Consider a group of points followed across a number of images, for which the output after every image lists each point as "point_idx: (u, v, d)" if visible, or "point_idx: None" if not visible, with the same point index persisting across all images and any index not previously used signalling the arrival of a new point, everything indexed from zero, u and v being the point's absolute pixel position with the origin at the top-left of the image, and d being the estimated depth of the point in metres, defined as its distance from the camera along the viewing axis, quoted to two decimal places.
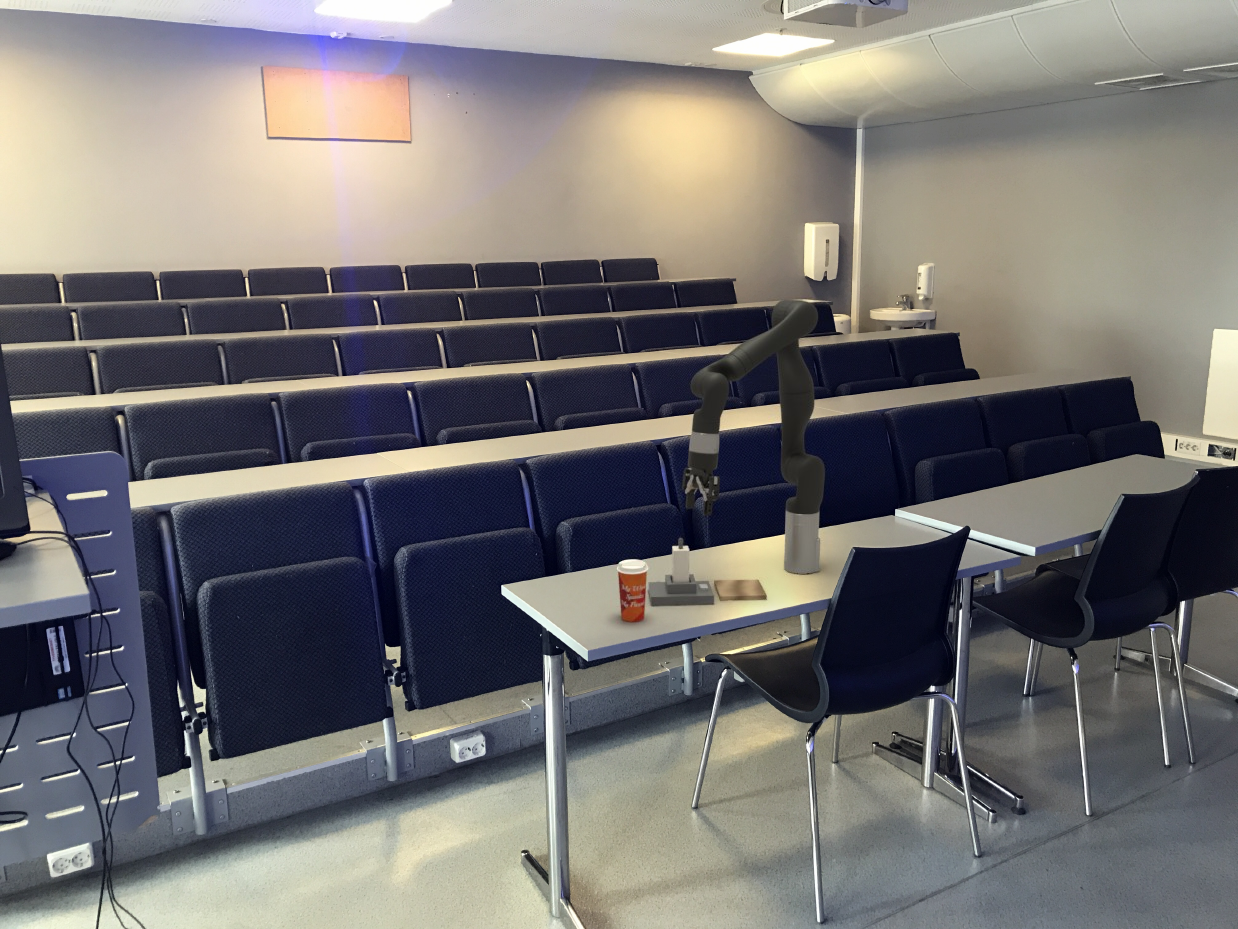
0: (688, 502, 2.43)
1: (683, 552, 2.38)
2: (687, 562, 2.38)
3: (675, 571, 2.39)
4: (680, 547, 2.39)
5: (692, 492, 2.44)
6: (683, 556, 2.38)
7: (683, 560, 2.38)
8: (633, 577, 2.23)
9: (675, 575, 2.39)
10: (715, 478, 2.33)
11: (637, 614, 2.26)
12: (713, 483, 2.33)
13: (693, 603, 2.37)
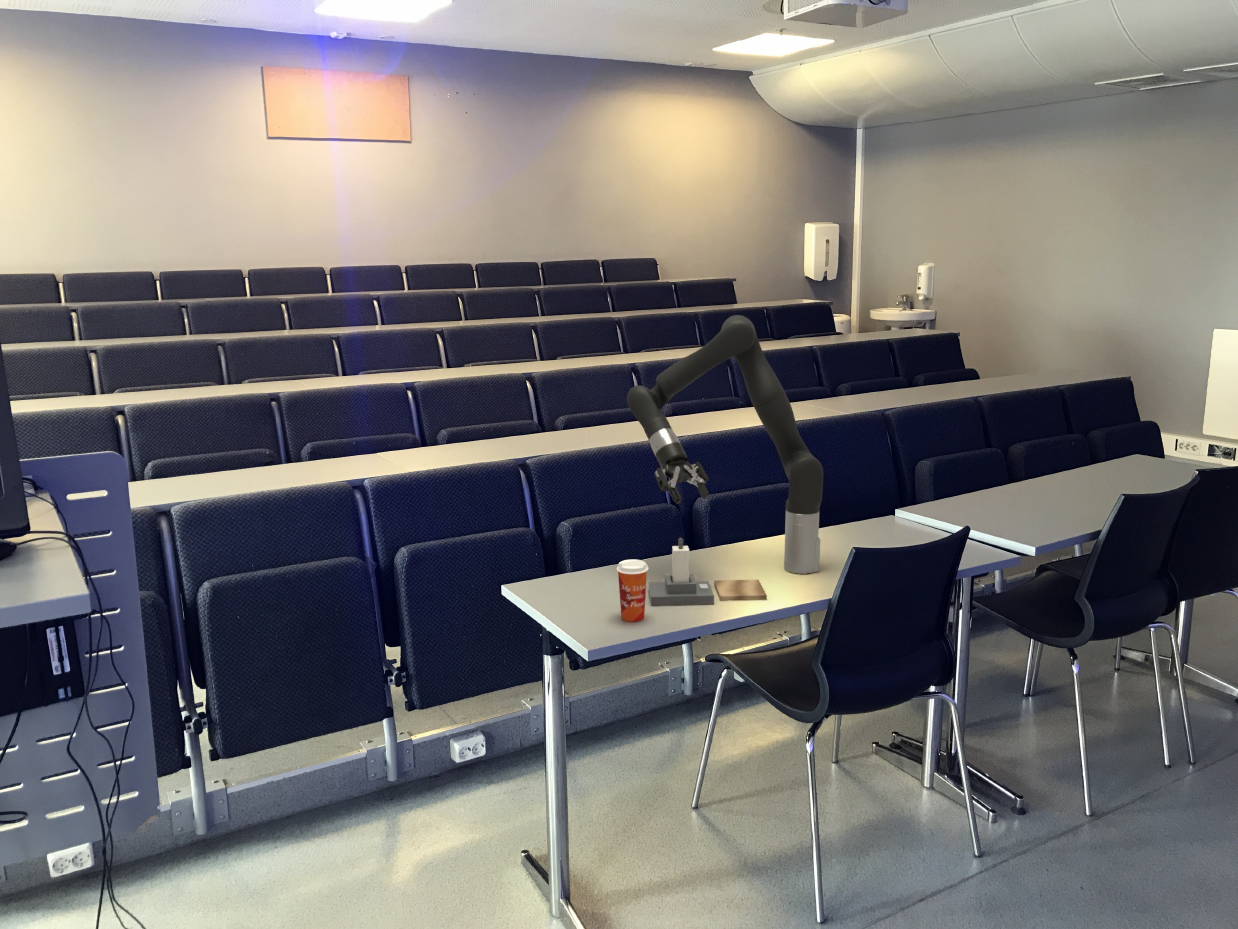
0: (700, 493, 2.46)
1: (683, 552, 2.38)
2: (687, 562, 2.38)
3: (675, 571, 2.39)
4: (680, 547, 2.39)
5: (699, 483, 2.46)
6: (683, 556, 2.38)
7: (683, 560, 2.38)
8: (633, 577, 2.23)
9: (675, 575, 2.39)
10: None
11: (637, 614, 2.26)
12: (656, 476, 2.43)
13: (693, 603, 2.37)
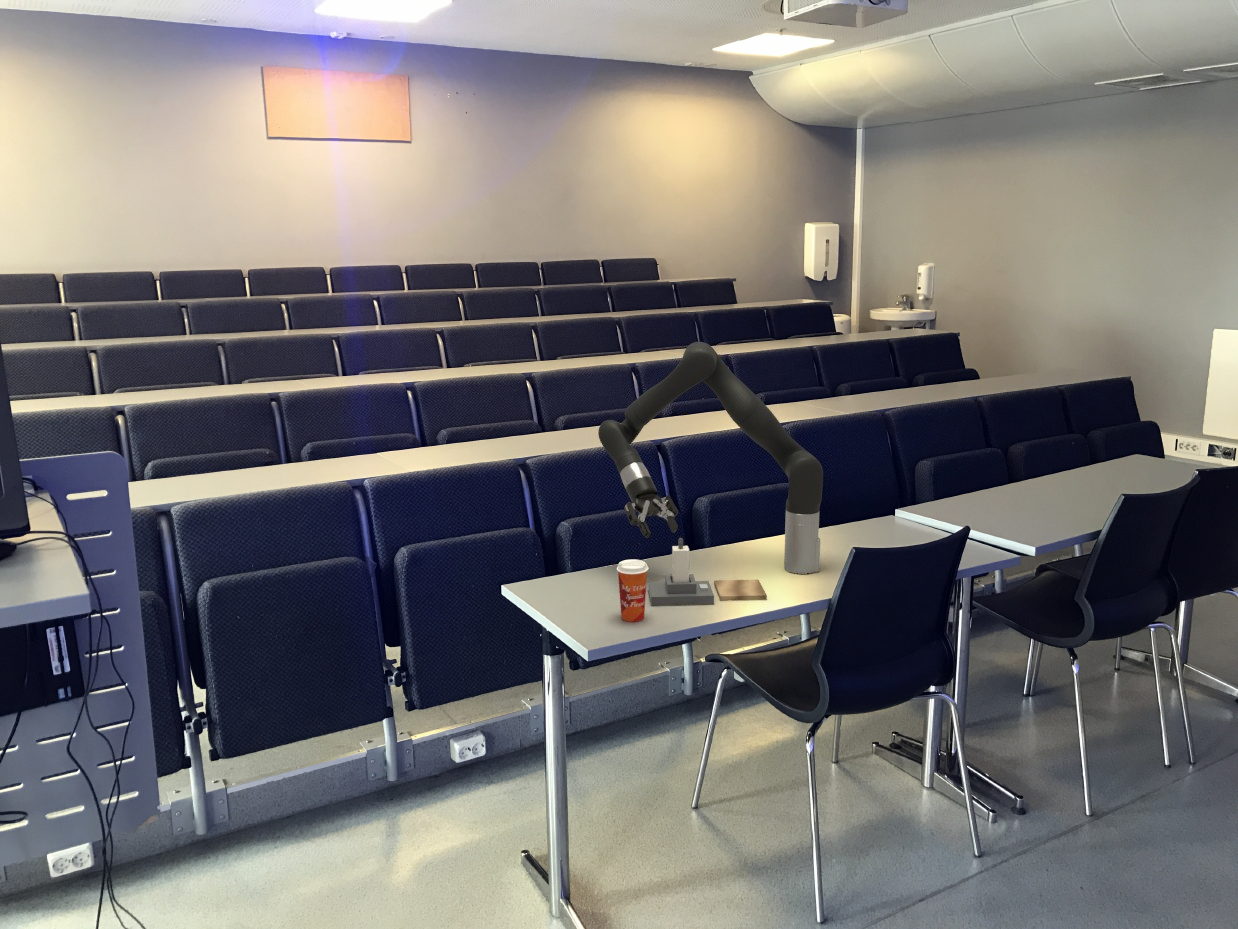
0: (670, 527, 2.50)
1: (683, 552, 2.38)
2: (687, 562, 2.38)
3: (675, 571, 2.39)
4: (680, 547, 2.39)
5: (668, 516, 2.50)
6: (683, 556, 2.38)
7: (683, 560, 2.38)
8: (633, 577, 2.23)
9: (675, 575, 2.39)
10: (625, 506, 2.47)
11: (637, 614, 2.26)
12: (626, 511, 2.47)
13: (693, 603, 2.37)
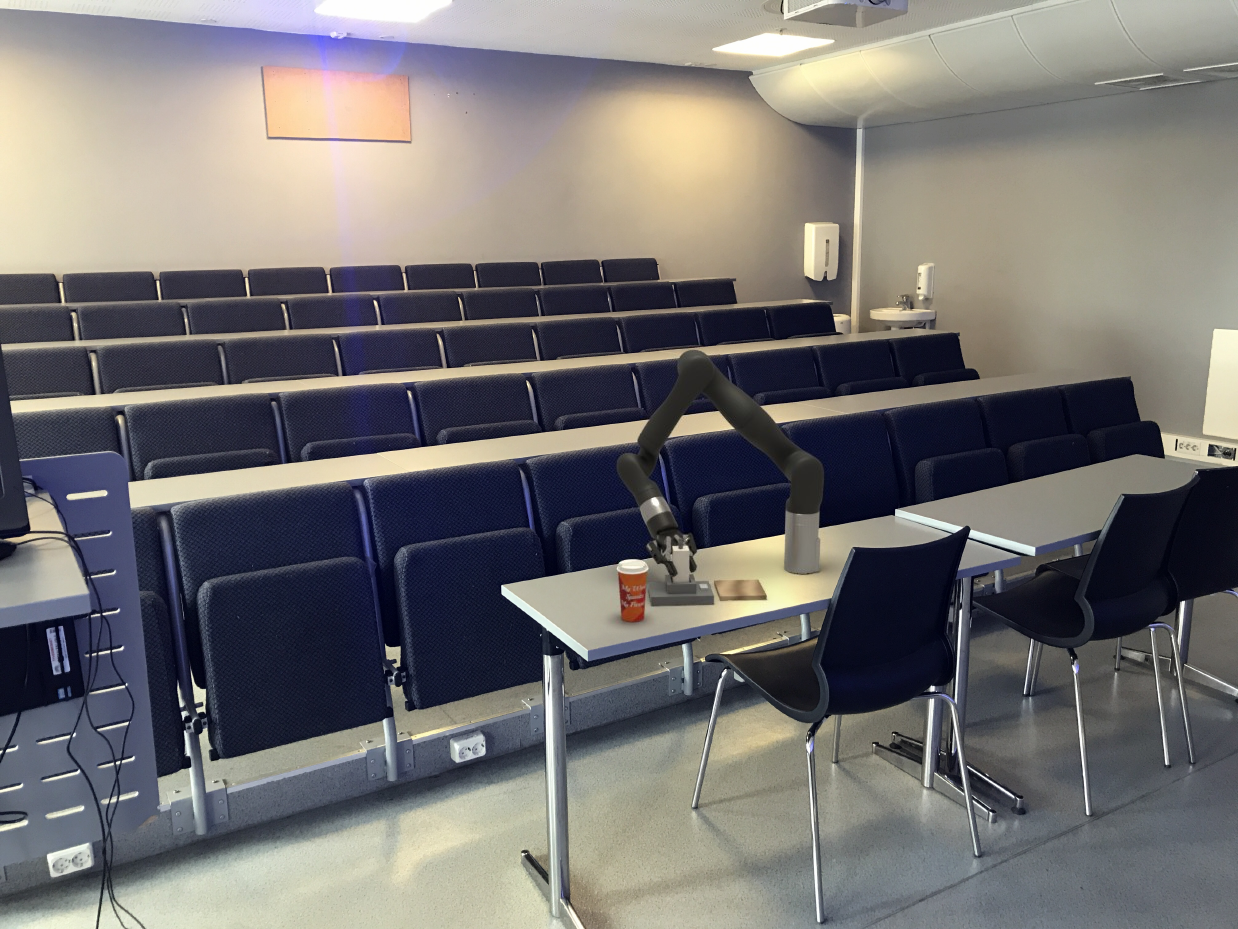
0: (689, 567, 2.42)
1: (683, 552, 2.38)
2: (687, 562, 2.38)
3: None
4: (680, 547, 2.39)
5: None
6: (683, 556, 2.38)
7: (683, 560, 2.38)
8: (633, 577, 2.23)
9: None
10: (647, 545, 2.40)
11: (637, 614, 2.26)
12: (649, 550, 2.40)
13: (693, 603, 2.37)
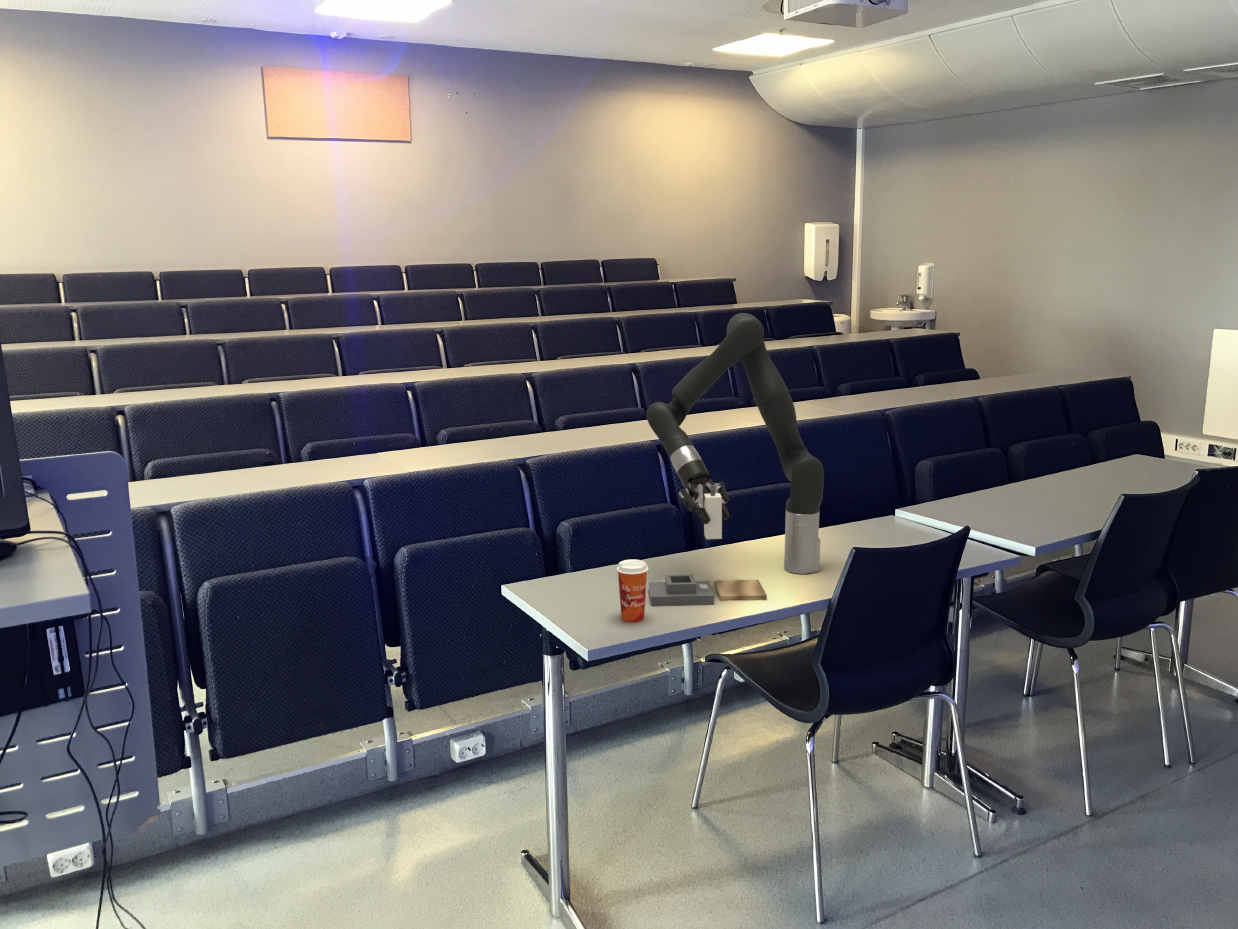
0: None
1: (716, 499, 2.36)
2: (720, 509, 2.37)
3: None
4: (712, 494, 2.38)
5: None
6: (716, 503, 2.37)
7: (716, 507, 2.37)
8: (633, 577, 2.23)
9: None
10: (679, 493, 2.39)
11: (637, 614, 2.26)
12: (681, 498, 2.39)
13: (693, 603, 2.37)
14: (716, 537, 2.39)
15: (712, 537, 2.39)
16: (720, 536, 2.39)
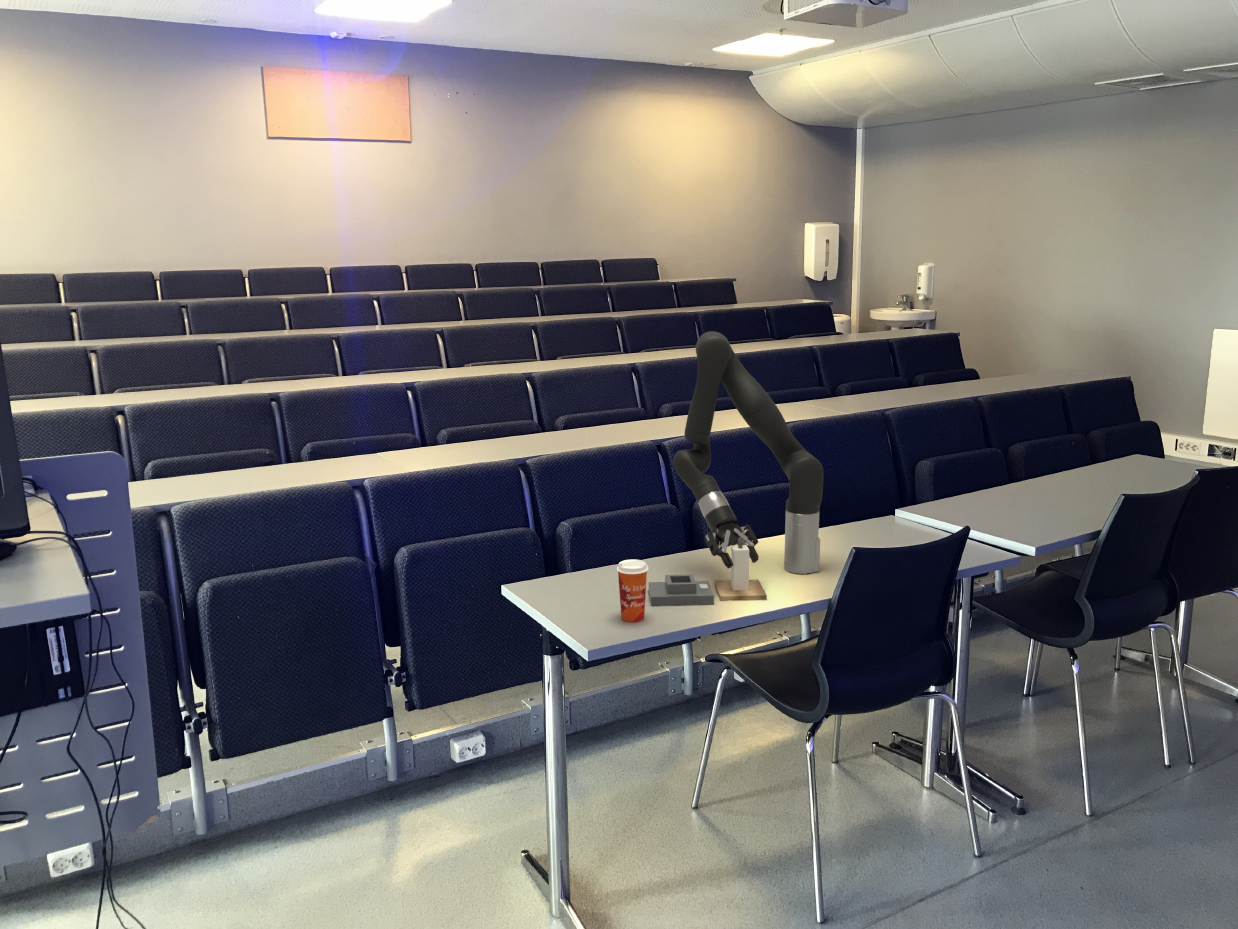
0: (750, 557, 2.46)
1: (743, 551, 2.41)
2: (747, 561, 2.42)
3: (735, 570, 2.42)
4: (740, 546, 2.43)
5: (749, 546, 2.47)
6: (743, 555, 2.42)
7: (743, 559, 2.42)
8: (633, 577, 2.23)
9: (735, 574, 2.43)
10: (706, 536, 2.44)
11: (637, 614, 2.26)
12: (707, 541, 2.44)
13: (693, 603, 2.37)
14: (743, 588, 2.44)
15: (739, 588, 2.44)
16: (747, 587, 2.44)
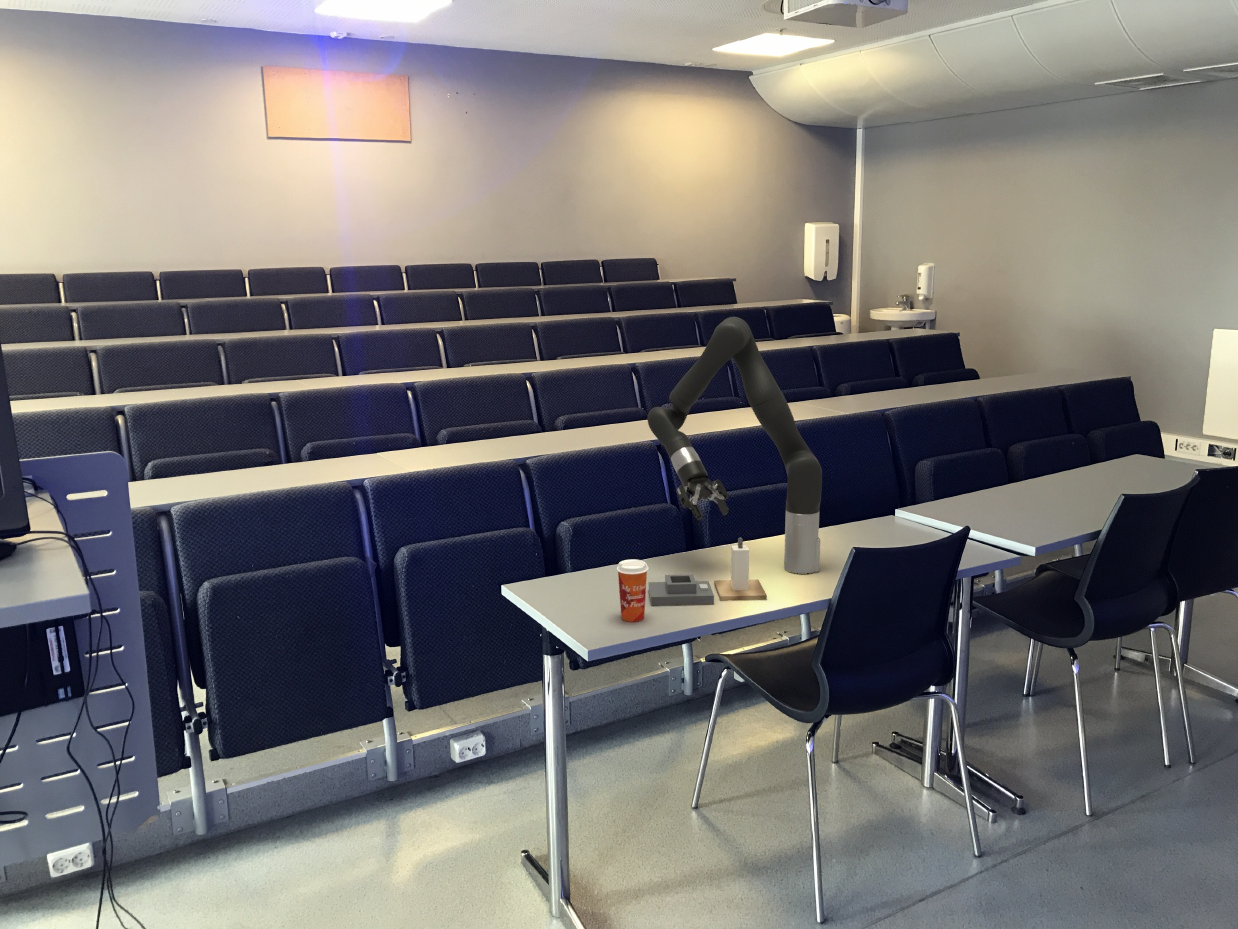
0: (721, 510, 2.55)
1: (743, 551, 2.41)
2: (747, 561, 2.42)
3: (735, 570, 2.42)
4: (740, 546, 2.43)
5: (719, 500, 2.55)
6: (743, 555, 2.42)
7: (743, 559, 2.42)
8: (633, 577, 2.23)
9: (735, 574, 2.43)
10: (678, 489, 2.52)
11: (637, 614, 2.26)
12: (678, 494, 2.52)
13: (693, 603, 2.37)
14: (743, 588, 2.44)
15: (739, 588, 2.44)
16: (747, 587, 2.44)
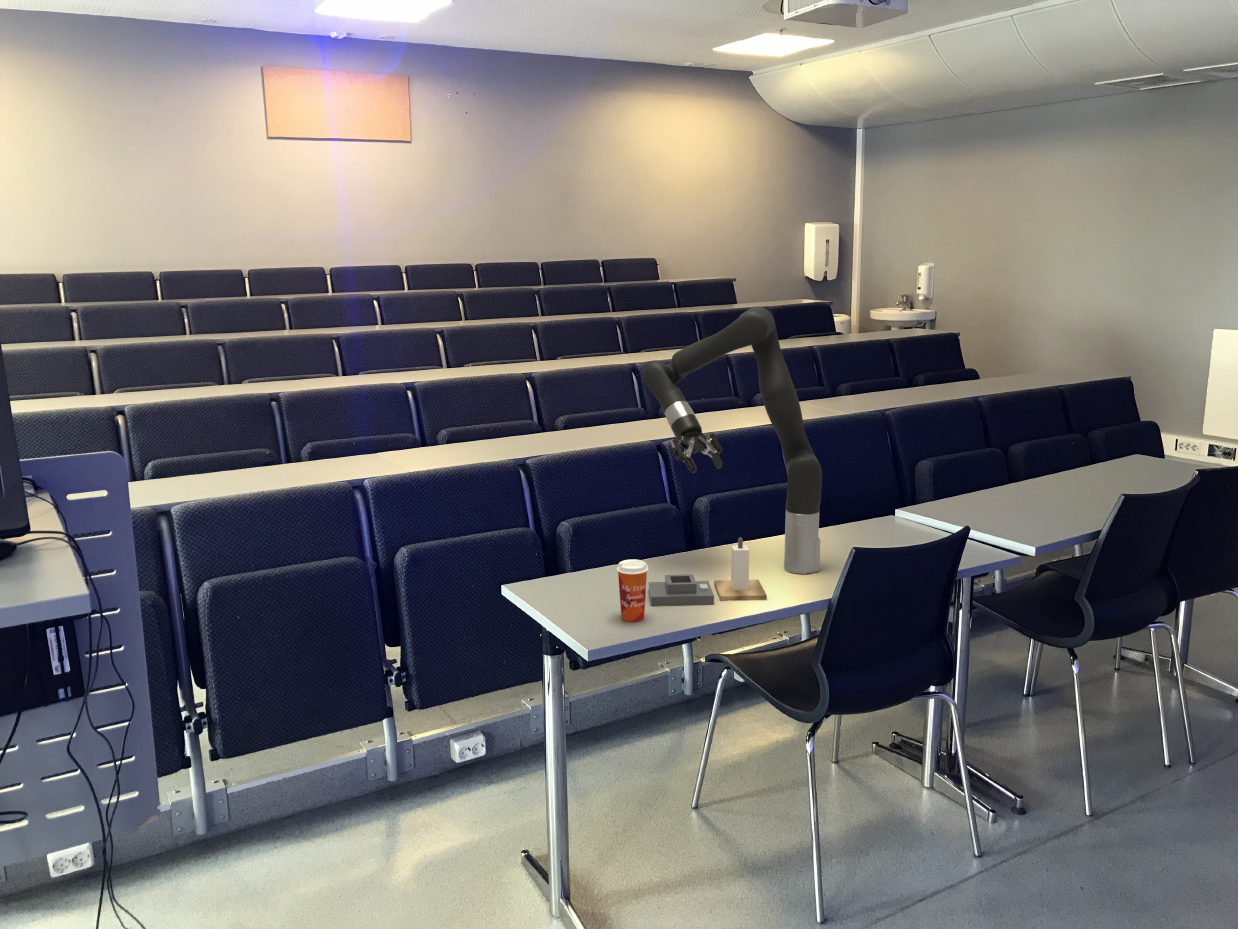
0: (715, 464, 2.54)
1: (743, 551, 2.41)
2: (747, 561, 2.42)
3: (735, 570, 2.42)
4: (740, 546, 2.43)
5: (713, 453, 2.54)
6: (743, 555, 2.42)
7: (743, 559, 2.42)
8: (633, 577, 2.23)
9: (735, 574, 2.43)
10: (671, 442, 2.51)
11: (637, 614, 2.26)
12: (672, 447, 2.51)
13: (693, 603, 2.37)
14: (743, 588, 2.44)
15: (739, 588, 2.44)
16: (747, 587, 2.44)
